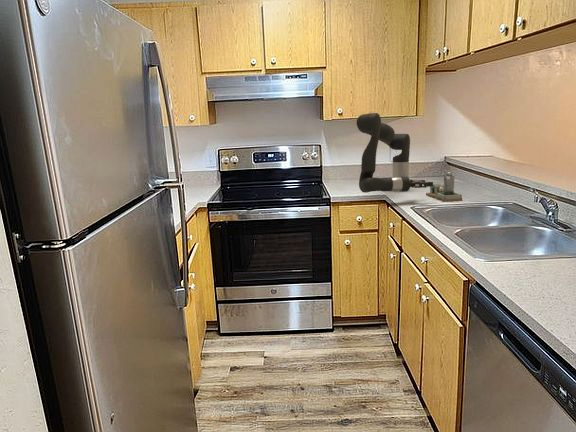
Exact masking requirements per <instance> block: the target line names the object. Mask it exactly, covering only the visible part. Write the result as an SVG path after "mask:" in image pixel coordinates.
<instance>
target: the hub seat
mask: <svg viewBox="0 0 576 432" xmlns="http://www.w3.org/2000/svg"><path fill="white" fill-rule="evenodd" d="M437 197H439V198H442V199H457V198H462V199H463V194H461V193H459V192H458V193H457V192H455V191H454V195H447V196H445V195H444V193H437Z"/></svg>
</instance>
